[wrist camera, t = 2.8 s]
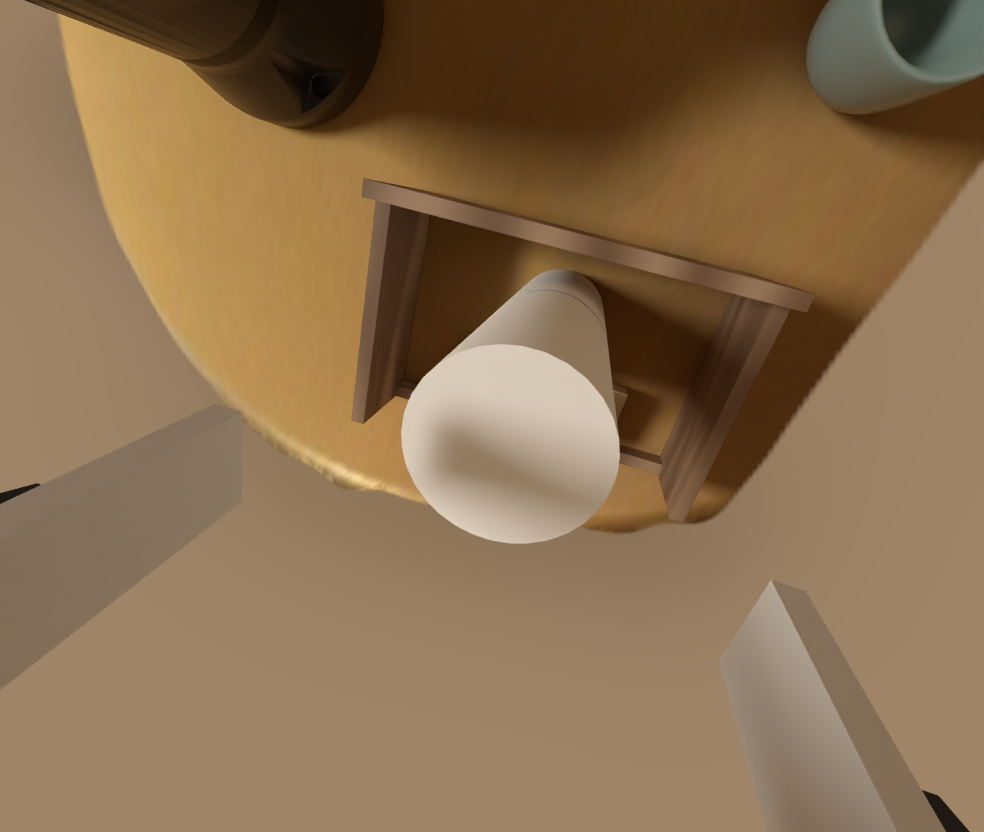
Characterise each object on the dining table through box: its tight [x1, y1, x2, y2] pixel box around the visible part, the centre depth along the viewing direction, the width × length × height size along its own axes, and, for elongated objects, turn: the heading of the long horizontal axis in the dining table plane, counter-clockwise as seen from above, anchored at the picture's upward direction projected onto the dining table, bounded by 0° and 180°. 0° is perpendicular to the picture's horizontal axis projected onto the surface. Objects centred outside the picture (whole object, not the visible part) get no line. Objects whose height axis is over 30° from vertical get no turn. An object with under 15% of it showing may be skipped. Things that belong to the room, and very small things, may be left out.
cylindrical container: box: [401, 269, 620, 543], centre depth 26 cm, size 7×7×25 cm
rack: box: [352, 178, 816, 523], centre depth 34 cm, size 26×17×10 cm, turn 76°
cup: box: [806, 0, 984, 115], centre depth 24 cm, size 8×8×10 cm
